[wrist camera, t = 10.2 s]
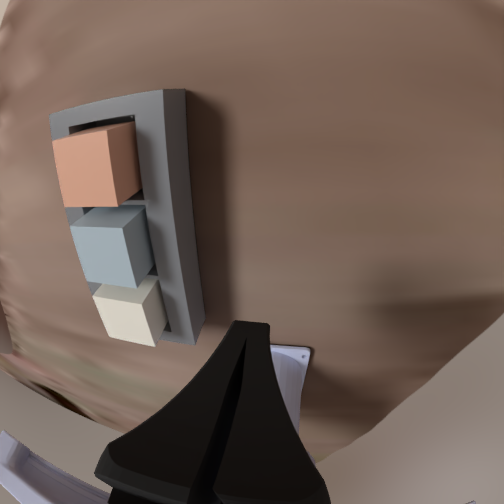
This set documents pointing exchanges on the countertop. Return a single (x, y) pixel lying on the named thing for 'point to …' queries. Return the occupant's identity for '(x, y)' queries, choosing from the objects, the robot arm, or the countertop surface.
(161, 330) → the key ivory
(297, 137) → the countertop surface
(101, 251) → the key slate
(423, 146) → the countertop surface
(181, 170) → the grey slotted frame
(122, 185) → the key terracotta
